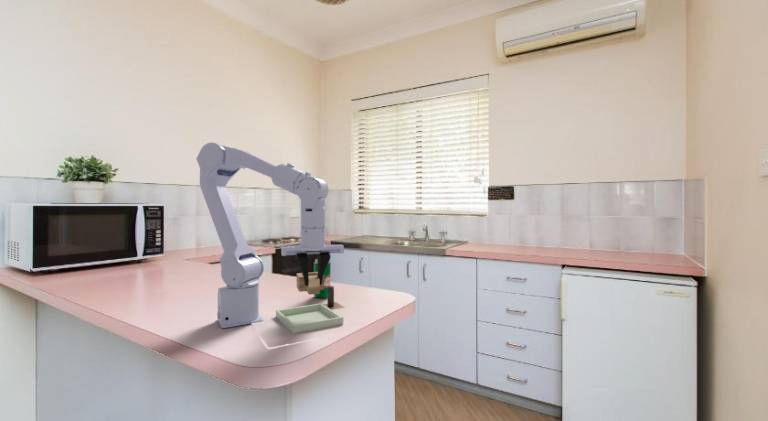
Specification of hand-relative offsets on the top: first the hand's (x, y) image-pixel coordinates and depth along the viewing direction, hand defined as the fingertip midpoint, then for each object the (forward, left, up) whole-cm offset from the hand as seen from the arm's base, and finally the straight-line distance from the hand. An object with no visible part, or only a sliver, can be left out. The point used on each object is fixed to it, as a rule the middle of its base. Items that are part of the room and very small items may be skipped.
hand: (313, 284), depth 86 cm
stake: (+9, +11, -10) cm, 18 cm away
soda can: (+11, +22, -10) cm, 27 cm away
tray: (0, +3, -10) cm, 10 cm away
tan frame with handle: (+1, +3, -2) cm, 4 cm away
